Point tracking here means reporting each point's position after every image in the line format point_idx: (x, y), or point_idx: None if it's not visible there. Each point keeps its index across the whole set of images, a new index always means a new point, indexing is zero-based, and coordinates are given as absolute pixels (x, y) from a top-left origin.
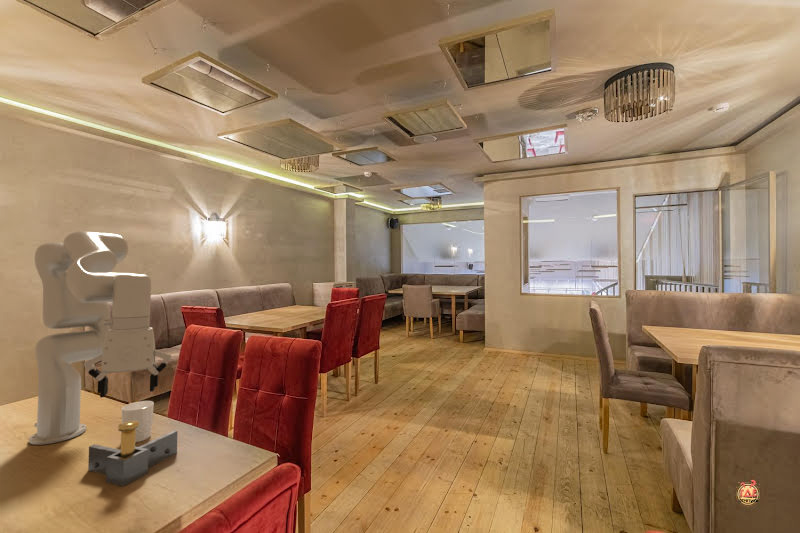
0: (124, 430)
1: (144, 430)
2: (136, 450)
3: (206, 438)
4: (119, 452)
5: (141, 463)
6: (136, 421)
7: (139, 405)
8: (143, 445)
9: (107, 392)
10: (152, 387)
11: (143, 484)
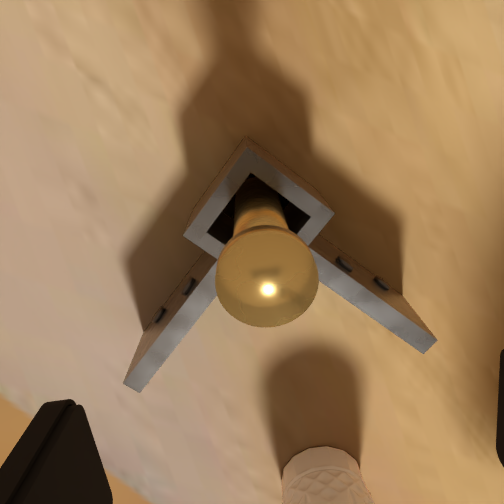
0: (270, 226)
1: (296, 484)
2: None
3: None
4: None
5: (204, 199)
6: (235, 307)
7: None
8: None
9: (499, 458)
10: (33, 430)
11: (179, 128)
